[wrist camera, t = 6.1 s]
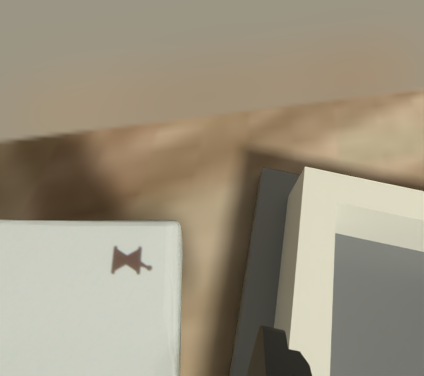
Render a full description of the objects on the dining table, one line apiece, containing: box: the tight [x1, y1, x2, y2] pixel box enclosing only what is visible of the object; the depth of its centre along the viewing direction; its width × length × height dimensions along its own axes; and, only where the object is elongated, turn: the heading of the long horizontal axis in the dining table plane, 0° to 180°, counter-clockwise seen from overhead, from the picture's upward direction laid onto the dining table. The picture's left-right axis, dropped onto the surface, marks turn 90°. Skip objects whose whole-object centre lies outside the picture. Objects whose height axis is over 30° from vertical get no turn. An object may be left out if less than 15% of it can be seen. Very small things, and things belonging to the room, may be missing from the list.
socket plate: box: [229, 167, 424, 376], centre depth 16 cm, size 14×16×4 cm
